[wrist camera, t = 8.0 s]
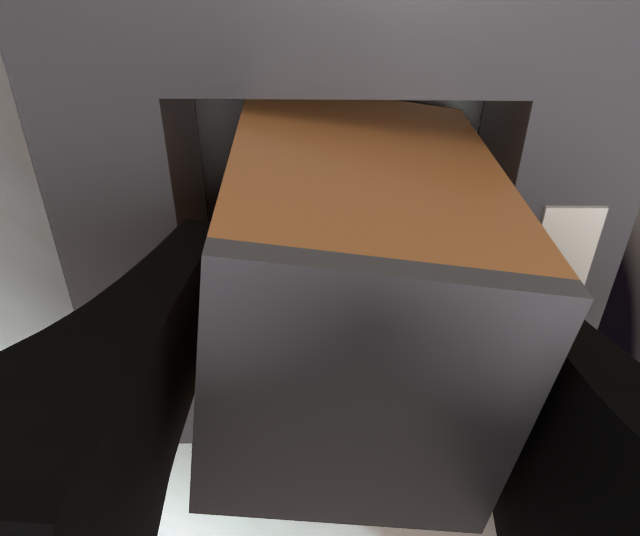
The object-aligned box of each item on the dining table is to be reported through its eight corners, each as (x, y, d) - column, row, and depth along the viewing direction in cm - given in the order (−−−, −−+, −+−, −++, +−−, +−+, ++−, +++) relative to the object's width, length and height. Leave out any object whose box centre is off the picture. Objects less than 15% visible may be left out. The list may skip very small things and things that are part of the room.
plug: (235, 262, 15) (188, 512, 9) (250, 79, 12) (201, 255, 6) (412, 282, 15) (481, 533, 9) (460, 109, 13) (594, 299, 7)
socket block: (140, 362, 18) (110, 446, 15) (43, -84, 11) (-37, -68, 9) (524, 363, 18) (558, 446, 15) (643, -79, 12) (736, -61, 9)
